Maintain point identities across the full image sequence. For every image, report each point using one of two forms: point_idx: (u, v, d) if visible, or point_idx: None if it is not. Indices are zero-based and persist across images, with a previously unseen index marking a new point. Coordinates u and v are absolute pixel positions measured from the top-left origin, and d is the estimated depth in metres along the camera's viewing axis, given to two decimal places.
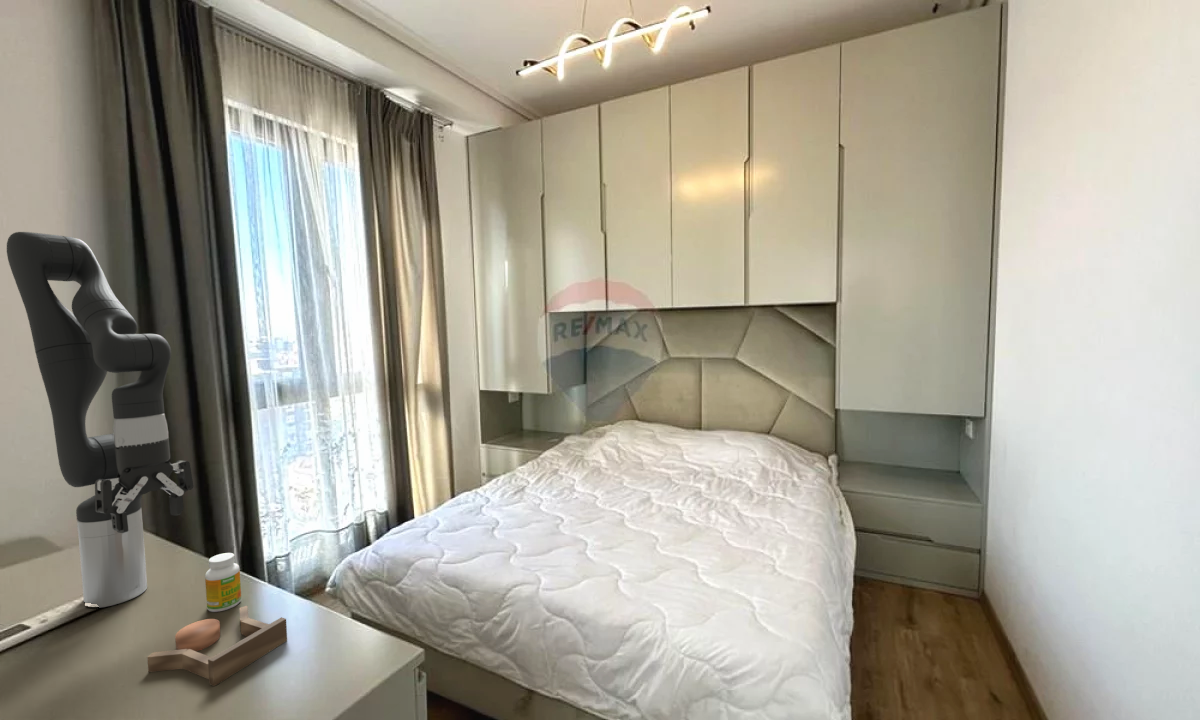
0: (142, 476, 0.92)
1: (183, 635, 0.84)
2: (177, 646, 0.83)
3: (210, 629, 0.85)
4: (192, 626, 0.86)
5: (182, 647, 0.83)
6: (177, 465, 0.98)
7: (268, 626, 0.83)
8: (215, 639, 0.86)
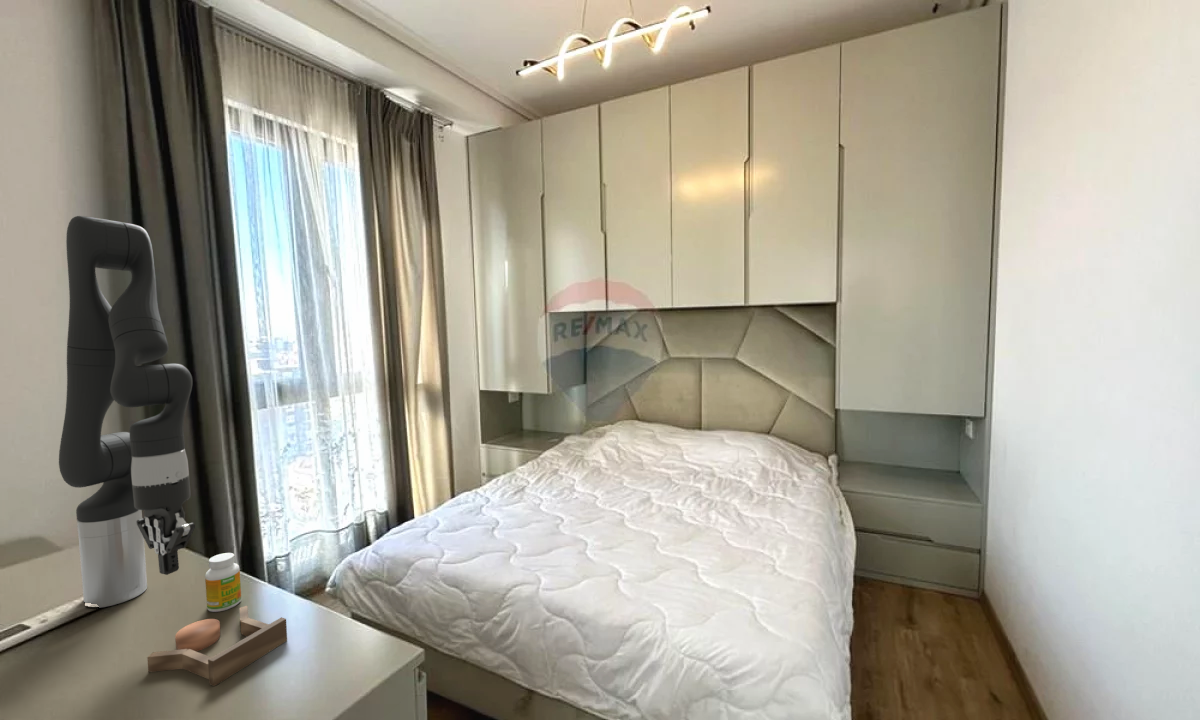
0: None
1: (183, 635, 0.84)
2: (177, 646, 0.83)
3: (210, 629, 0.85)
4: (192, 626, 0.86)
5: (182, 647, 0.83)
6: None
7: (268, 626, 0.83)
8: (215, 639, 0.86)
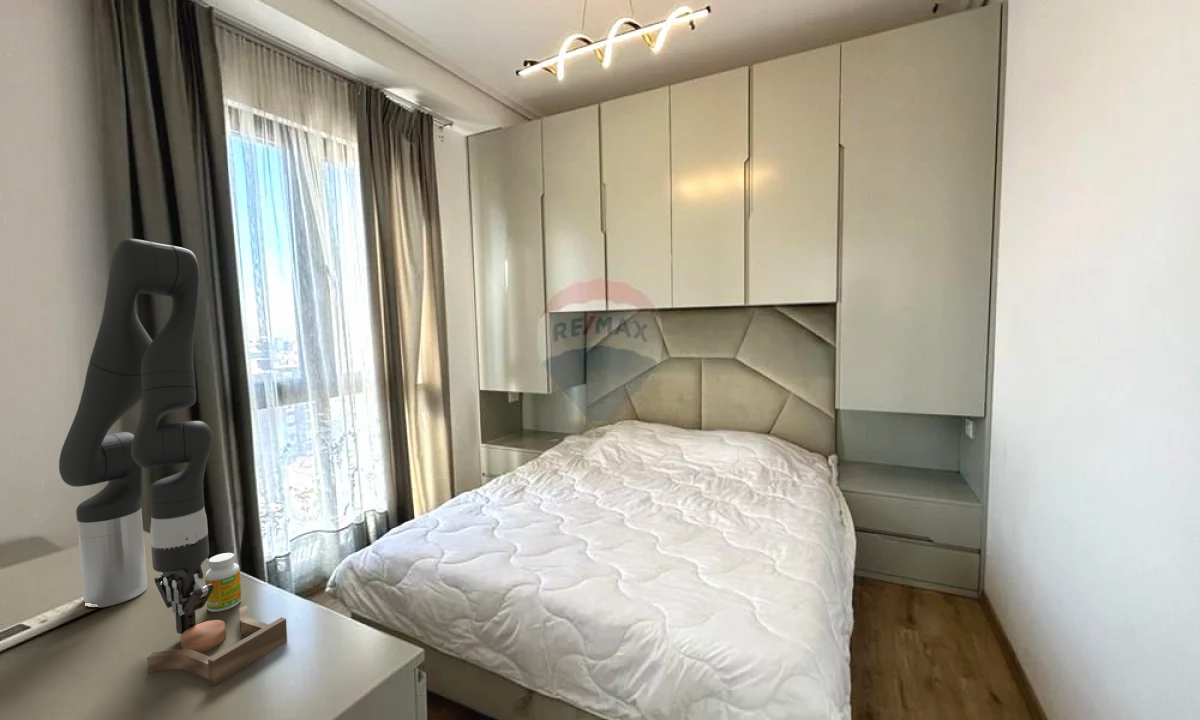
0: None
1: (189, 637, 0.83)
2: (183, 647, 0.83)
3: (215, 630, 0.85)
4: (197, 627, 0.86)
5: (188, 648, 0.82)
6: None
7: (268, 626, 0.83)
8: (221, 640, 0.85)
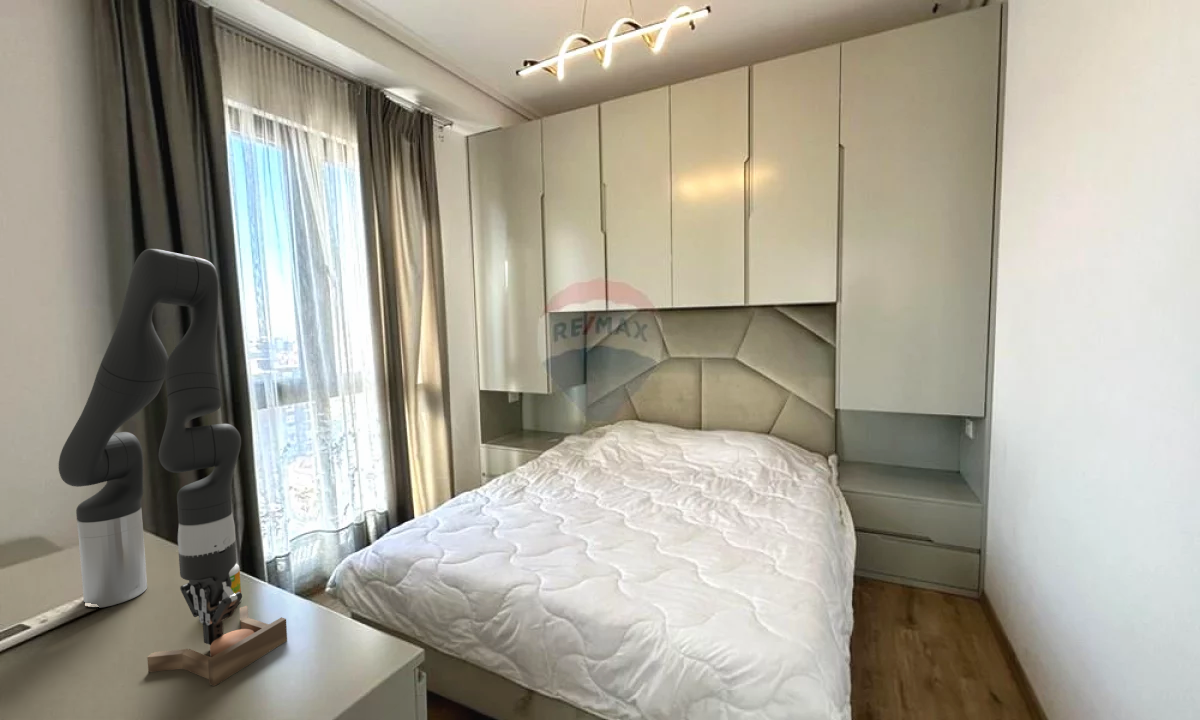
0: None
1: (218, 647, 0.81)
2: None
3: None
4: (226, 637, 0.83)
5: None
6: None
7: (268, 626, 0.83)
8: None
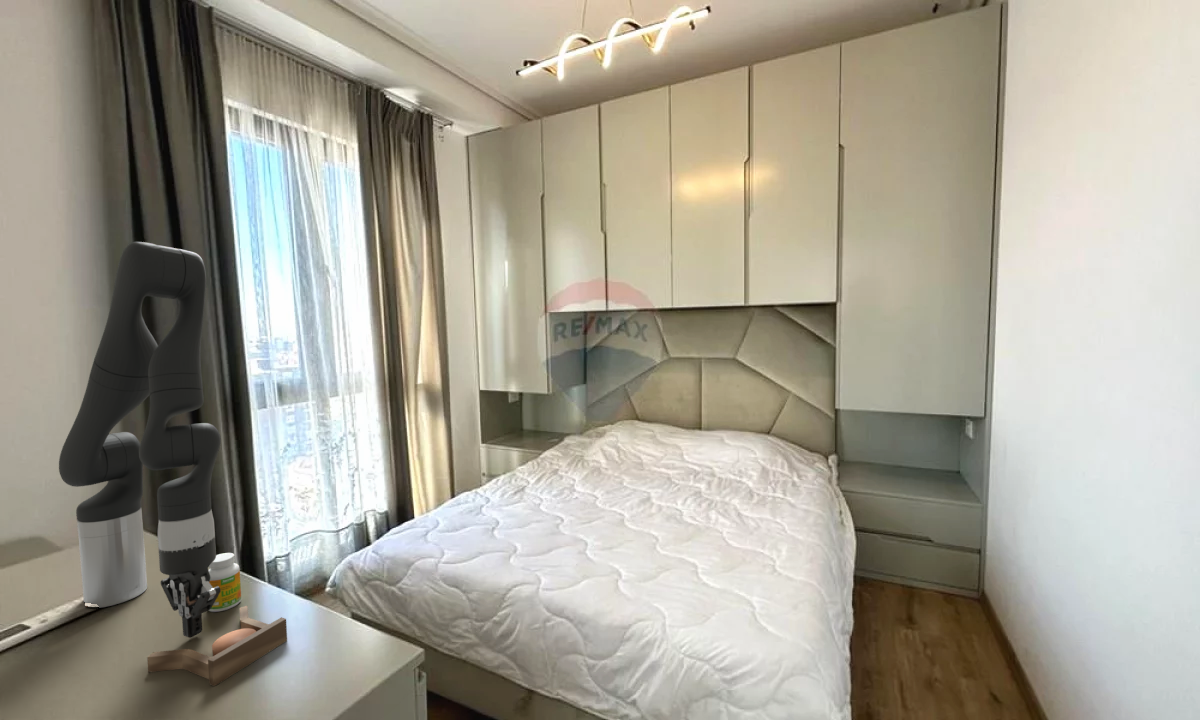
0: None
1: (221, 646, 0.81)
2: None
3: None
4: (227, 636, 0.83)
5: None
6: None
7: (268, 626, 0.83)
8: None
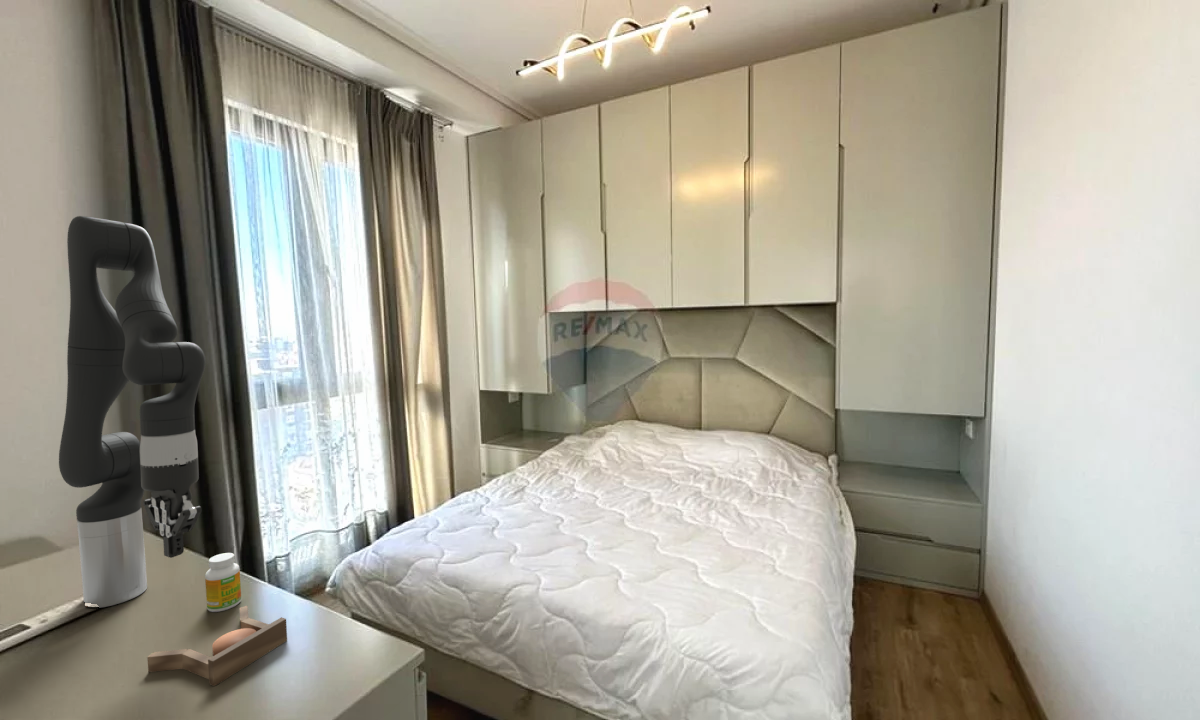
0: None
1: (221, 646, 0.81)
2: None
3: None
4: (228, 636, 0.83)
5: None
6: None
7: (268, 626, 0.83)
8: None
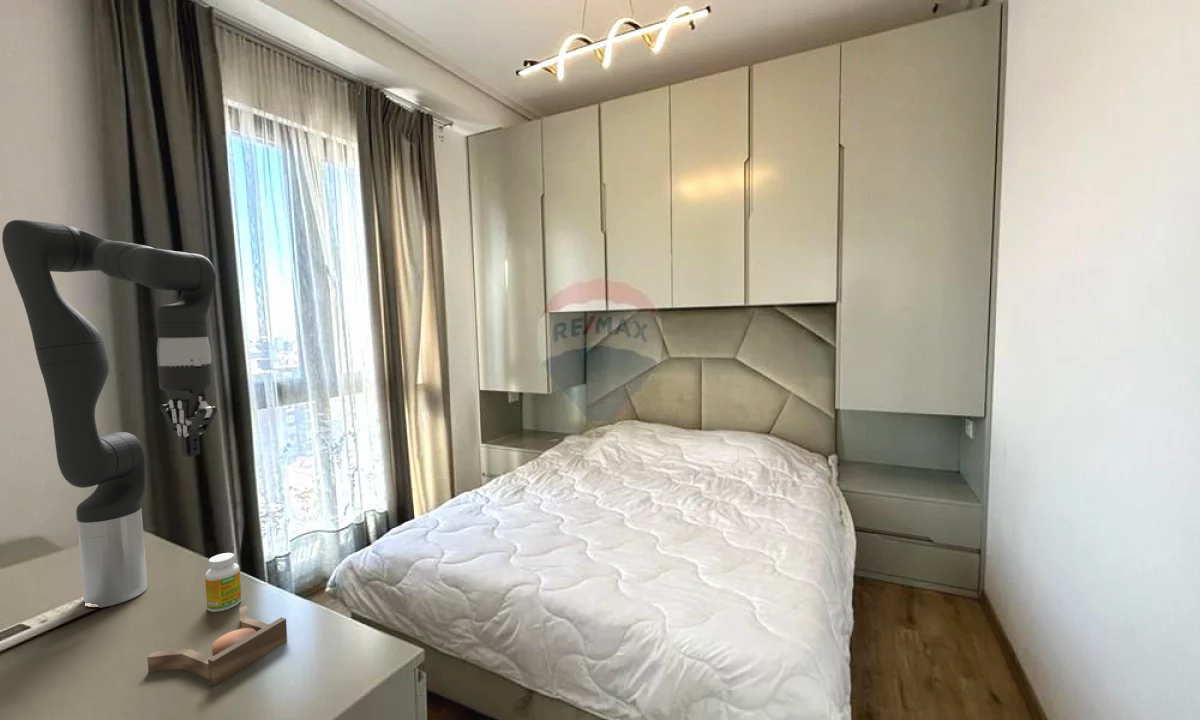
0: None
1: (220, 645, 0.81)
2: None
3: None
4: (228, 636, 0.84)
5: None
6: None
7: (268, 626, 0.83)
8: None
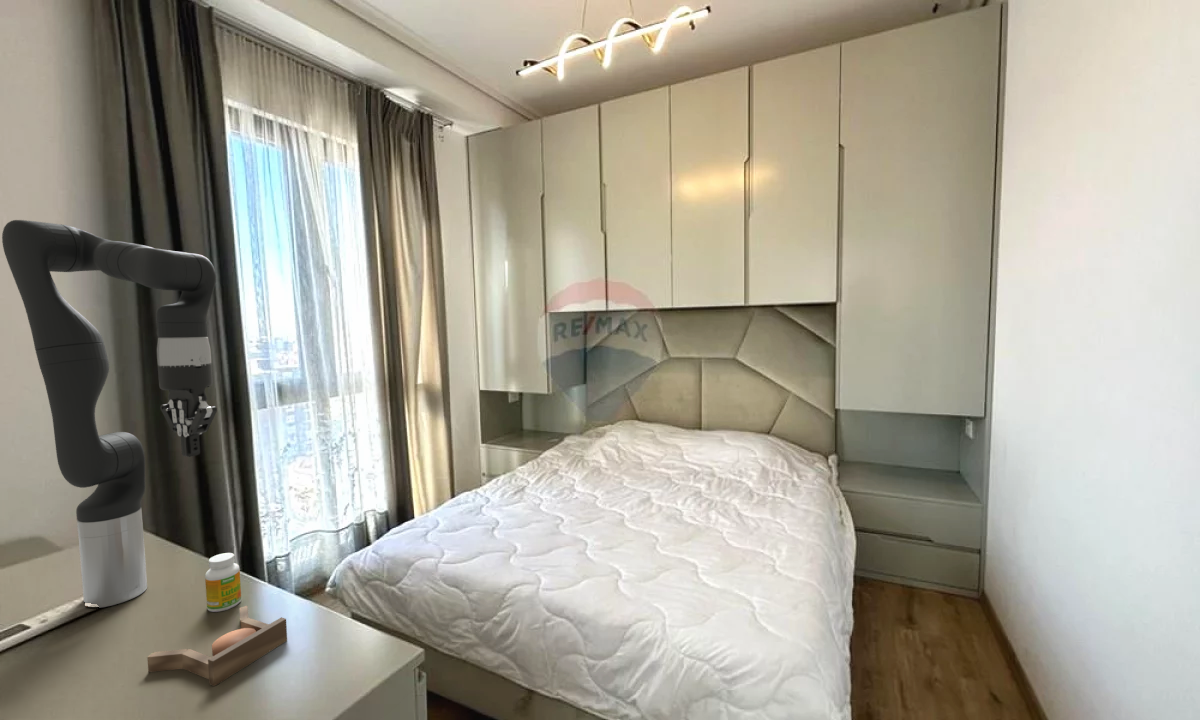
0: None
1: (220, 645, 0.81)
2: None
3: None
4: (229, 636, 0.84)
5: None
6: None
7: (268, 626, 0.83)
8: None
